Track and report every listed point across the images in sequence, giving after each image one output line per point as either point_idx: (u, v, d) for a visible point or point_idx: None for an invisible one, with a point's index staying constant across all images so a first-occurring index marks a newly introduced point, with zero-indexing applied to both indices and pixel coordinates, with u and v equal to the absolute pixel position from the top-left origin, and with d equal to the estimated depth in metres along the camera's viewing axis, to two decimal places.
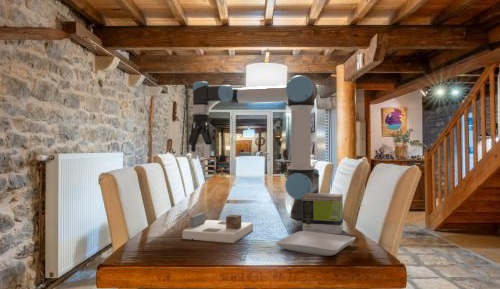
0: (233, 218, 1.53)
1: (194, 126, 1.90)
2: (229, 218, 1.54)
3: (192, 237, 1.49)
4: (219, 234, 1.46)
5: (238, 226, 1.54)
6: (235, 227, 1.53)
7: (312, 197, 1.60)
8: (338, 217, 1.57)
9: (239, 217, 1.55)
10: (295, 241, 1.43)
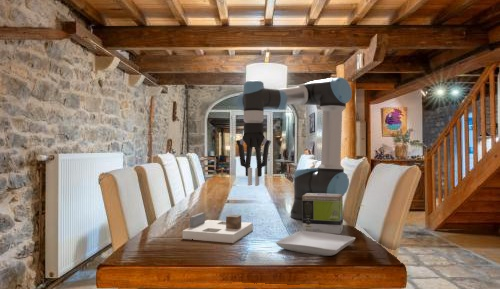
0: (233, 218, 1.53)
1: None
2: (229, 218, 1.54)
3: (192, 237, 1.49)
4: (219, 234, 1.46)
5: (238, 226, 1.54)
6: (235, 227, 1.53)
7: (312, 197, 1.60)
8: (338, 217, 1.57)
9: (239, 217, 1.55)
10: (295, 241, 1.43)
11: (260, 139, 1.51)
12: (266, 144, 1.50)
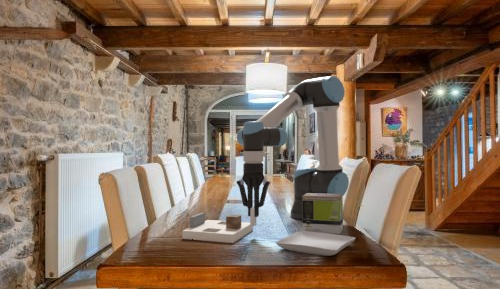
0: (233, 218, 1.53)
1: None
2: (229, 218, 1.54)
3: (192, 237, 1.49)
4: (219, 234, 1.46)
5: (238, 226, 1.54)
6: (235, 227, 1.53)
7: (312, 197, 1.60)
8: (338, 217, 1.57)
9: (239, 217, 1.55)
10: (295, 241, 1.43)
11: (260, 179, 1.51)
12: (265, 185, 1.50)
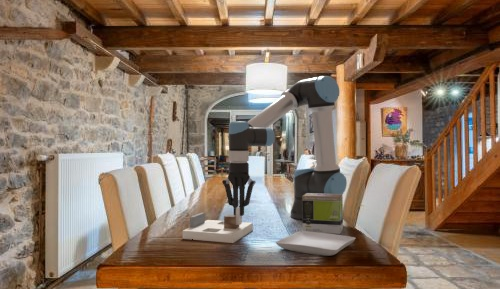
0: (231, 218, 1.54)
1: None
2: (227, 218, 1.54)
3: (192, 237, 1.49)
4: (219, 234, 1.46)
5: (236, 226, 1.55)
6: (233, 227, 1.53)
7: (312, 197, 1.60)
8: (338, 217, 1.57)
9: None
10: (295, 241, 1.43)
11: (245, 179, 1.53)
12: (250, 185, 1.52)
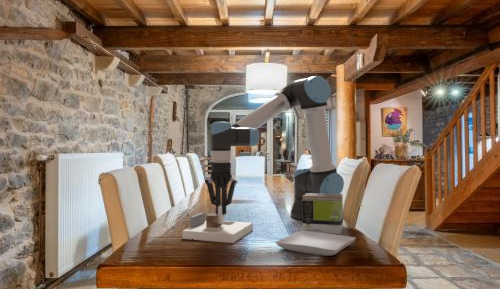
0: (213, 217, 1.56)
1: None
2: (209, 217, 1.56)
3: (192, 237, 1.49)
4: (219, 234, 1.46)
5: (218, 225, 1.57)
6: (215, 226, 1.56)
7: (312, 197, 1.60)
8: (338, 217, 1.57)
9: None
10: (295, 241, 1.43)
11: (227, 178, 1.55)
12: (232, 184, 1.55)
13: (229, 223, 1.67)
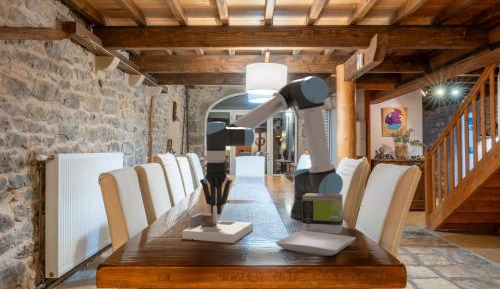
0: (208, 217, 1.57)
1: None
2: (204, 217, 1.57)
3: (192, 237, 1.49)
4: (219, 234, 1.46)
5: (213, 224, 1.57)
6: (210, 225, 1.56)
7: (312, 197, 1.60)
8: (338, 217, 1.57)
9: None
10: (295, 241, 1.43)
11: (222, 178, 1.56)
12: (227, 184, 1.55)
13: (229, 223, 1.67)
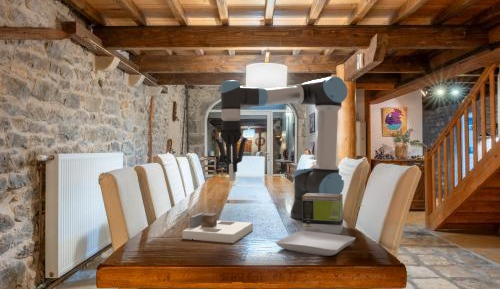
0: (208, 217, 1.57)
1: None
2: (204, 217, 1.57)
3: (192, 237, 1.49)
4: (219, 234, 1.46)
5: (213, 224, 1.57)
6: (210, 225, 1.56)
7: (312, 197, 1.60)
8: (338, 217, 1.57)
9: (214, 216, 1.58)
10: (295, 241, 1.43)
11: (237, 136, 1.58)
12: (242, 141, 1.57)
13: (229, 223, 1.67)
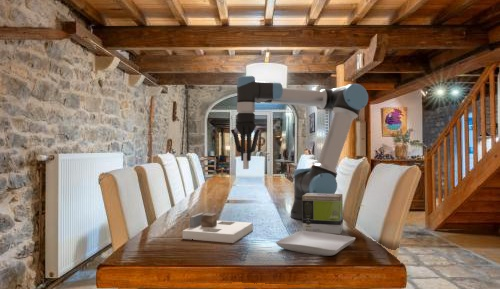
0: (208, 217, 1.57)
1: None
2: (204, 217, 1.57)
3: (192, 237, 1.49)
4: (219, 234, 1.46)
5: (213, 224, 1.57)
6: (210, 225, 1.56)
7: (312, 197, 1.60)
8: (338, 217, 1.57)
9: (214, 216, 1.58)
10: (295, 241, 1.43)
11: (251, 127, 1.70)
12: (256, 132, 1.69)
13: (229, 223, 1.67)
